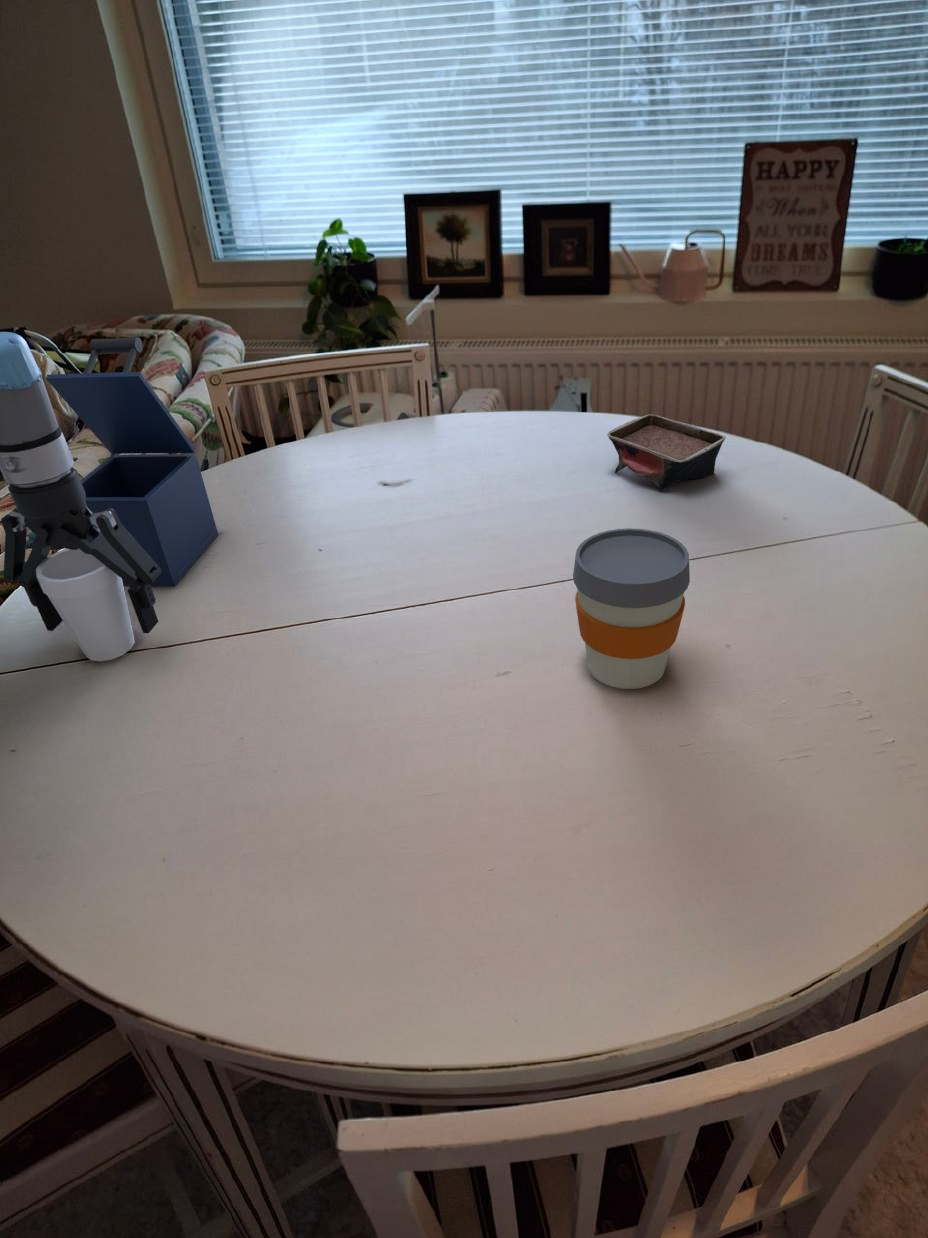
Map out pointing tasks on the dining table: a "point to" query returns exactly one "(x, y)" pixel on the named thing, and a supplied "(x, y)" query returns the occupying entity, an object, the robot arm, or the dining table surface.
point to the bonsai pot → (665, 449)
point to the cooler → (156, 507)
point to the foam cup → (88, 602)
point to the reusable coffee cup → (630, 603)
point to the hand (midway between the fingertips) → (103, 626)
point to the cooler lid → (121, 404)
